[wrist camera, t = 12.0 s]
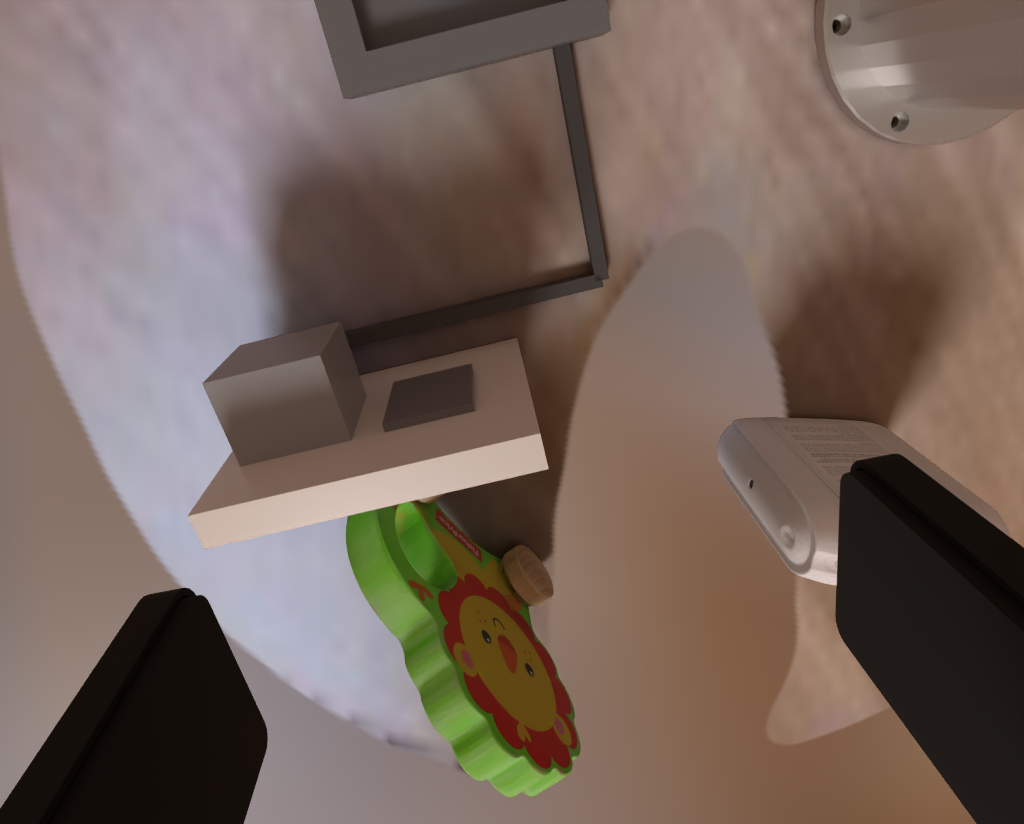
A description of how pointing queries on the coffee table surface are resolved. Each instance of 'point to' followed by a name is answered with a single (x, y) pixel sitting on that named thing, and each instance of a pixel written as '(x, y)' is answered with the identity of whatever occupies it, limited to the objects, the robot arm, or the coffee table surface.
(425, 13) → the charging cradle
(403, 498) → the plate
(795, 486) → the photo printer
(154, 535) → the coffee table surface
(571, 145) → the dark piece
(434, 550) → the toy lion
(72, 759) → the robot arm
